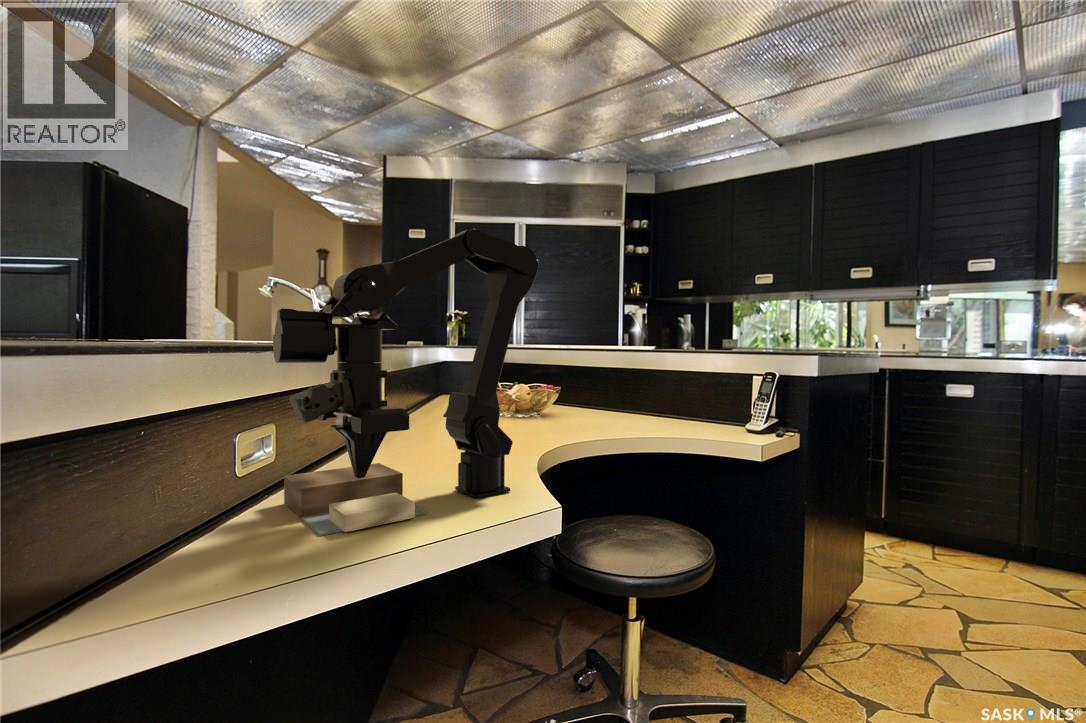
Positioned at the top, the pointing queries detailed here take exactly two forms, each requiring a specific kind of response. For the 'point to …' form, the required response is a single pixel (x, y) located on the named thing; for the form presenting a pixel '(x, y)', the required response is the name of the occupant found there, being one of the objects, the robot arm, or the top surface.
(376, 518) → the pale maple block
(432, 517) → the top surface
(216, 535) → the top surface
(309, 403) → the robot arm
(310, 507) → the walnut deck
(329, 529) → the mat
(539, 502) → the top surface
